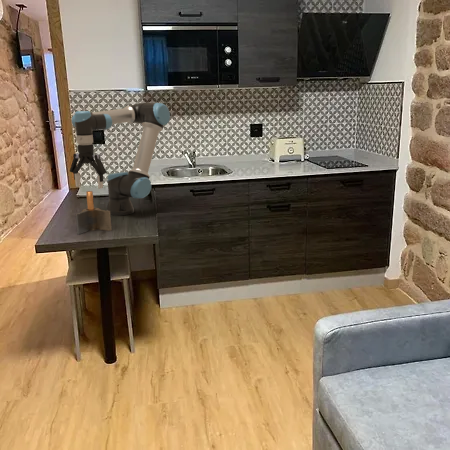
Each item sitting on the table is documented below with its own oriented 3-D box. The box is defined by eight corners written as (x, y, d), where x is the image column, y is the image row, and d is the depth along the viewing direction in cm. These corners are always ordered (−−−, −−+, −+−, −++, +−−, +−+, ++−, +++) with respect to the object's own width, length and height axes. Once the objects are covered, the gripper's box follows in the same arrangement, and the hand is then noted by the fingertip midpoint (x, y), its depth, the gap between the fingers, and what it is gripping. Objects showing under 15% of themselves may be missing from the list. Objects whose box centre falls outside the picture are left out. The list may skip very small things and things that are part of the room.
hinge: (91, 226, 242) (89, 207, 239) (114, 229, 237) (113, 209, 234) (73, 233, 229) (71, 213, 227) (97, 236, 224) (95, 216, 221)
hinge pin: (92, 227, 240) (88, 190, 235) (96, 227, 239) (93, 191, 234) (88, 228, 237) (84, 192, 232) (93, 229, 236) (89, 192, 231)
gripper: (59, 144, 228) (64, 187, 234) (101, 145, 219) (105, 190, 225) (69, 142, 235) (74, 184, 241) (111, 144, 225) (115, 187, 231)
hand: (89, 187), depth 233 cm, fingers open, 13 cm apart
